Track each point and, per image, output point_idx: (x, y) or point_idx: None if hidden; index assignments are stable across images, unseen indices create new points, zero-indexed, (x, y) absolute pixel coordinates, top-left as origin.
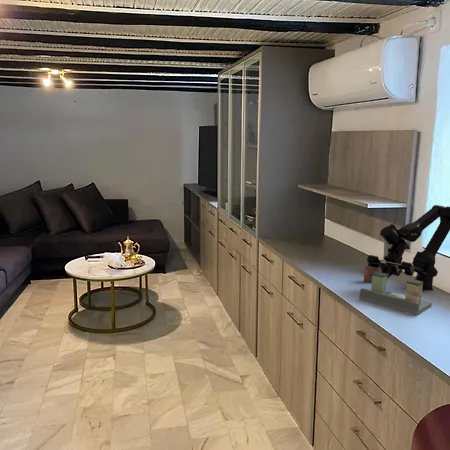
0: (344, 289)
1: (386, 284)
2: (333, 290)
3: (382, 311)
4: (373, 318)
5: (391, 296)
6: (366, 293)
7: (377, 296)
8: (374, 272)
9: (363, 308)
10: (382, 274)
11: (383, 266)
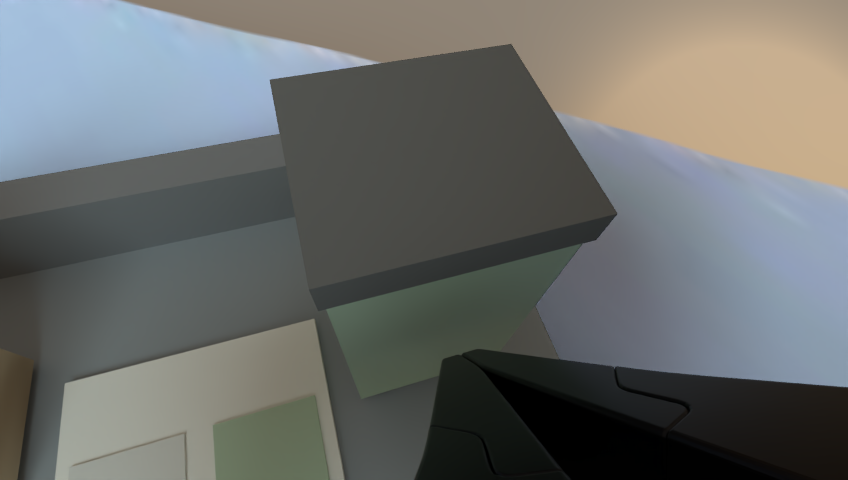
0: (747, 258)
1: (346, 357)
2: (723, 164)
3: (183, 134)
4: (161, 20)
5: (119, 175)
6: None
7: None
8: (548, 106)
9: None
10: (352, 132)
11: (794, 439)
